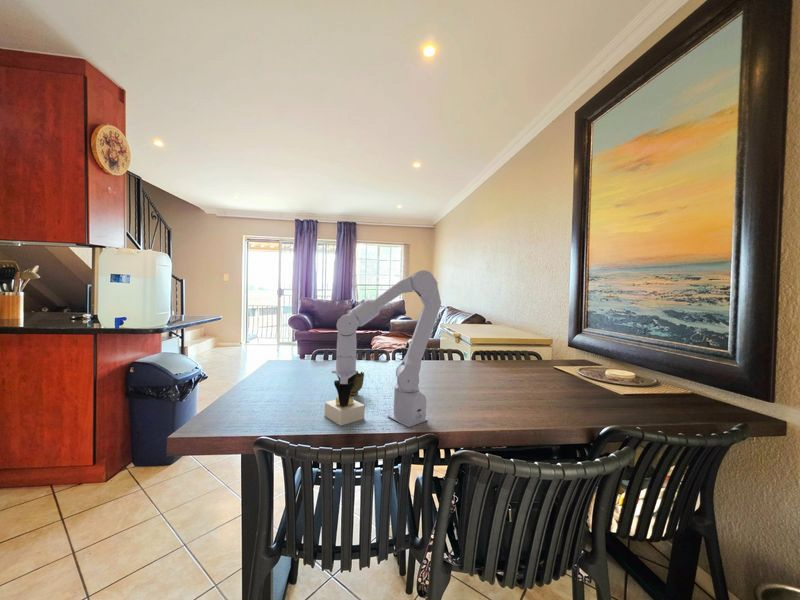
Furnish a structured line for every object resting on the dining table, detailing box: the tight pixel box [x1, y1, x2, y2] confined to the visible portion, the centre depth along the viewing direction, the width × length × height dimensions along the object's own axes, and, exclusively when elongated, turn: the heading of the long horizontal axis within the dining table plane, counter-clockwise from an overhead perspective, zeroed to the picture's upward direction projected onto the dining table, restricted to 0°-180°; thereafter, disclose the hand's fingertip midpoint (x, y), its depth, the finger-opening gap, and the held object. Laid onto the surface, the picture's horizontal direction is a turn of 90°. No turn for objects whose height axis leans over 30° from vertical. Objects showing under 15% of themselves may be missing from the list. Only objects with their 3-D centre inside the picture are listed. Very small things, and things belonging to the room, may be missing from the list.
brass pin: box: [335, 396, 355, 407], centre depth 92 cm, size 5×5×5 cm
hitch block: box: [323, 399, 366, 427], centre depth 92 cm, size 9×8×4 cm
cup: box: [350, 370, 365, 397], centre depth 112 cm, size 8×7×8 cm
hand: (344, 401), depth 92 cm, fingers open, 6 cm apart
